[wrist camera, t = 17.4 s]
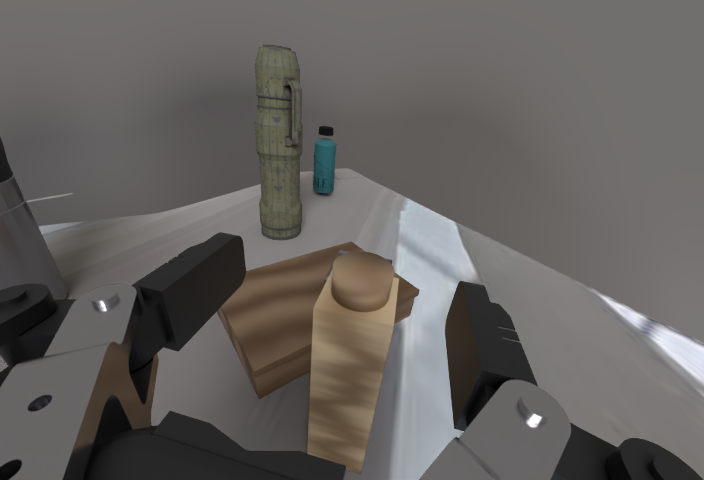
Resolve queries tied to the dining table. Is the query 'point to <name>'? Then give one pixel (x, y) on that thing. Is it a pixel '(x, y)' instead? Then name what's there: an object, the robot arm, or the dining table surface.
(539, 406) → the robot arm
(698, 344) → the dining table surface
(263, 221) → the thermos
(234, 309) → the board with square socket
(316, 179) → the beverage bottle
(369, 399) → the wooden square peg
